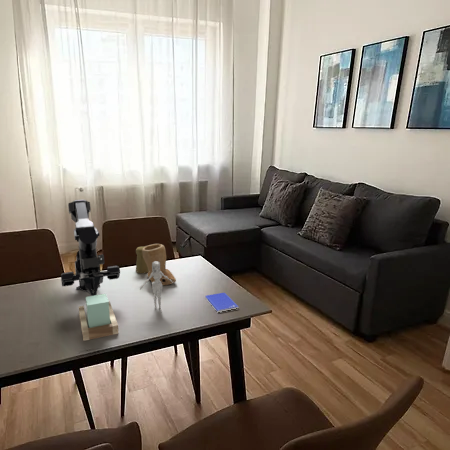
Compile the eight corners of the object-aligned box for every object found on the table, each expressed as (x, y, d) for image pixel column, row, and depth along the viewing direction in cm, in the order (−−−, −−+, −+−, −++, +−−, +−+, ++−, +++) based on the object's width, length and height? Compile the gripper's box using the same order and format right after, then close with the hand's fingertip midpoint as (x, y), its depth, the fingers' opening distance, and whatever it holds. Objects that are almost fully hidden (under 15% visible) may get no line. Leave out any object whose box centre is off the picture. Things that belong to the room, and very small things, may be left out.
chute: (79, 317, 122) (78, 306, 121) (110, 311, 127) (109, 301, 126) (83, 344, 108) (82, 332, 107) (118, 336, 112) (118, 325, 111)
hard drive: (238, 306, 130) (225, 292, 141) (217, 310, 127) (205, 295, 138) (238, 310, 131) (224, 295, 142) (217, 314, 128) (205, 299, 139)
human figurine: (142, 316, 124) (140, 266, 119) (139, 312, 127) (137, 263, 122) (175, 308, 130) (174, 260, 125) (171, 304, 133) (170, 257, 128)
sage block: (88, 326, 115) (85, 296, 112) (107, 322, 118) (105, 293, 115) (89, 335, 110) (87, 305, 107) (110, 331, 112) (108, 301, 110)
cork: (152, 269, 165) (151, 246, 162) (145, 274, 159) (144, 250, 156) (140, 267, 167) (139, 244, 164) (132, 272, 161) (131, 248, 158)
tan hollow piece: (141, 275, 158) (140, 241, 154) (168, 271, 163) (168, 239, 159) (147, 289, 145) (145, 253, 141) (176, 285, 149) (176, 250, 145)
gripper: (58, 250, 118) (62, 296, 111) (117, 243, 126) (125, 286, 119) (59, 264, 127) (64, 307, 120) (115, 257, 135) (122, 297, 128)
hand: (94, 299), depth 122 cm, fingers closed
